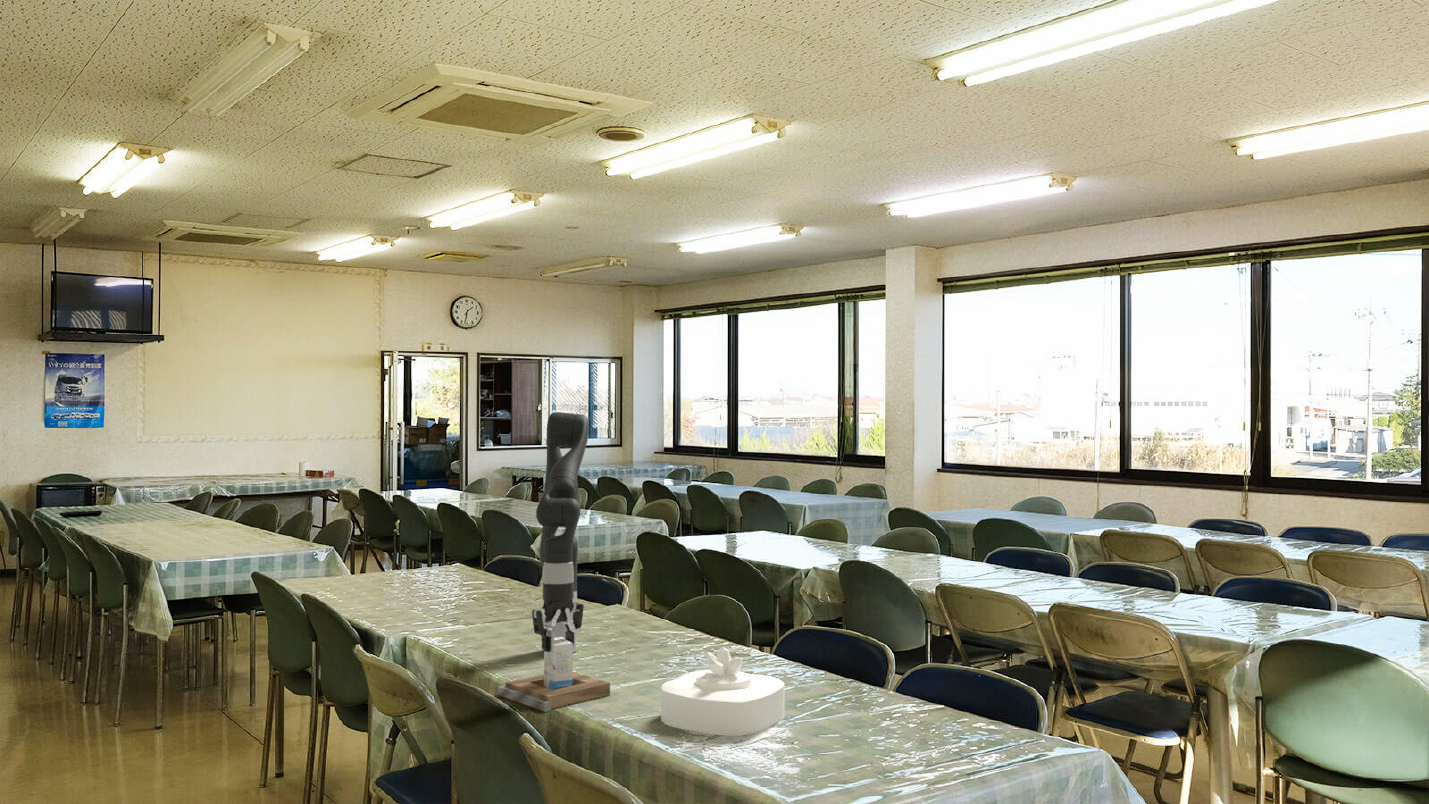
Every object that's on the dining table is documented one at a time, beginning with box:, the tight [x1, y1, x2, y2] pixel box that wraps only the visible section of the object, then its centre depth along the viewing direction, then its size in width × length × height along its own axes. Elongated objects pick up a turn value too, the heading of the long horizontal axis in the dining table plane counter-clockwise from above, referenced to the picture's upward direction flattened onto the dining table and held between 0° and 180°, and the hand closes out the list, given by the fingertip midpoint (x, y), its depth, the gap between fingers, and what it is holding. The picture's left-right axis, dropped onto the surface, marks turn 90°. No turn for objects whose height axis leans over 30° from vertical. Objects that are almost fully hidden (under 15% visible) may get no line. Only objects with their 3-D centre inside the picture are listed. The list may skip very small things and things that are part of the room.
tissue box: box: [660, 646, 785, 737], centre depth 236 cm, size 25×25×16 cm
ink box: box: [543, 631, 573, 690], centre depth 254 cm, size 8×5×15 cm, turn 26°
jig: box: [497, 671, 611, 713], centre depth 253 cm, size 20×20×3 cm
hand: (558, 649), depth 254 cm, fingers closed on ink box, 6 cm apart
